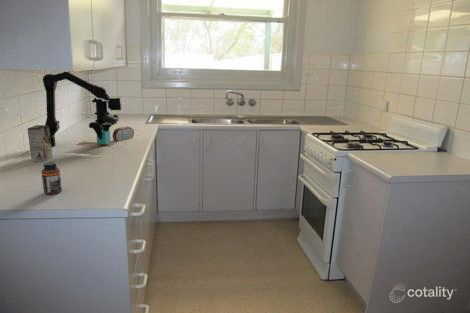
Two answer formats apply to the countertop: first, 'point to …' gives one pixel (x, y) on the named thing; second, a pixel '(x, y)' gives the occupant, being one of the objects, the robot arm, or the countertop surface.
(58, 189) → the supplement bottle
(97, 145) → the walnut board
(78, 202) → the countertop surface
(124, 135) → the tin
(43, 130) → the coffee box
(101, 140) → the teal block
